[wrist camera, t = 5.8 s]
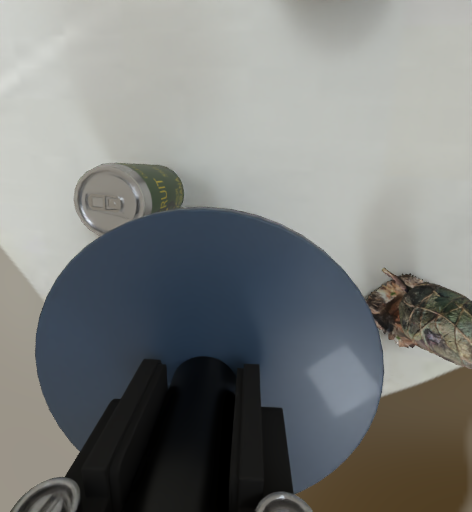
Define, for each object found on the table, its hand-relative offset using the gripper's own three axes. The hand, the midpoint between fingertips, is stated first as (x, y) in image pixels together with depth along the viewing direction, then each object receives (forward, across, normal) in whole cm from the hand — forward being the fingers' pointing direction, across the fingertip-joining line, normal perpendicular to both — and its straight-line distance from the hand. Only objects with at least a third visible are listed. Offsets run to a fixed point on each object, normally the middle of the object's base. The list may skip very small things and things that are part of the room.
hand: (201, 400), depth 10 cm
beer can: (+24, +8, -5) cm, 26 cm away
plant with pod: (+24, -19, +6) cm, 31 cm away
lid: (+1, 0, 0) cm, 1 cm away
